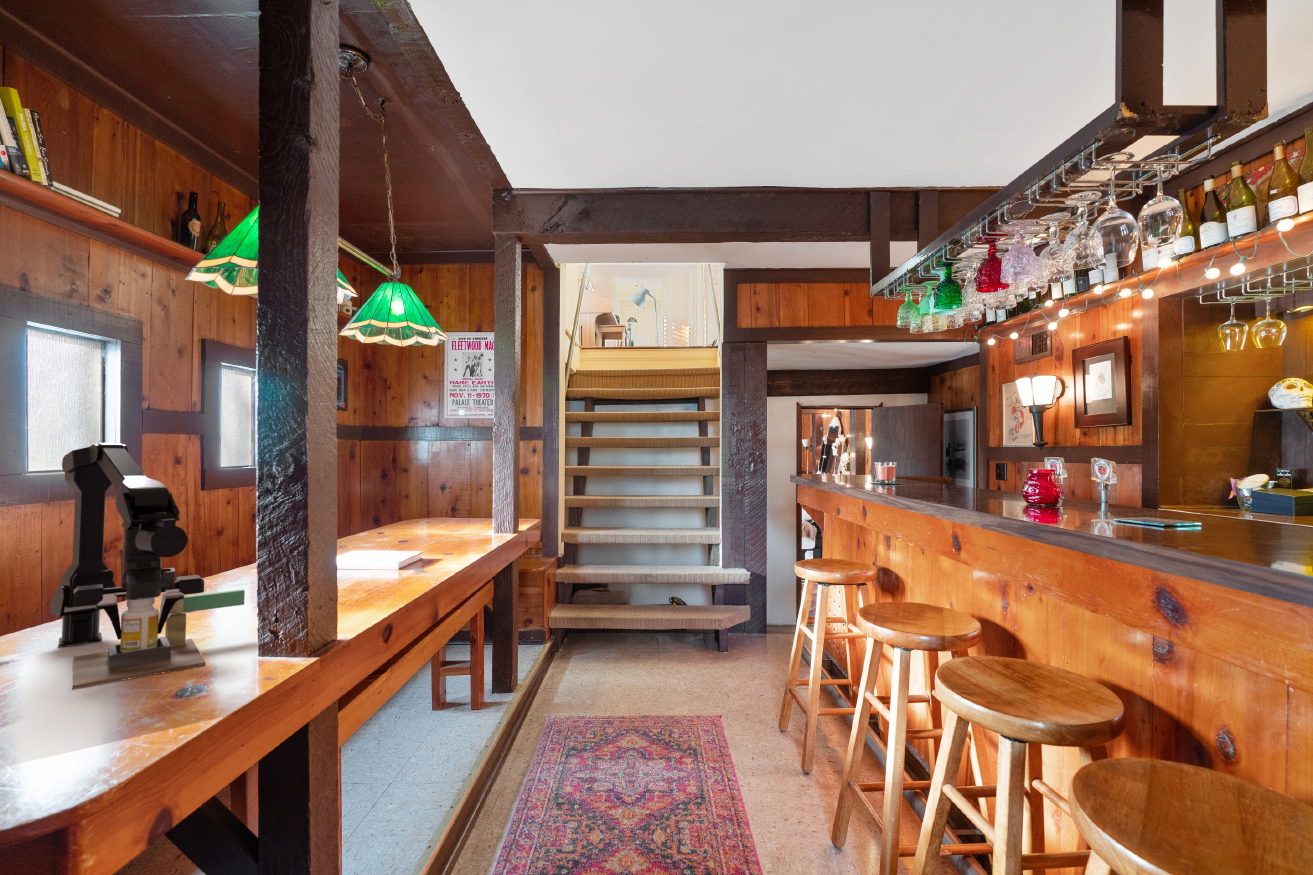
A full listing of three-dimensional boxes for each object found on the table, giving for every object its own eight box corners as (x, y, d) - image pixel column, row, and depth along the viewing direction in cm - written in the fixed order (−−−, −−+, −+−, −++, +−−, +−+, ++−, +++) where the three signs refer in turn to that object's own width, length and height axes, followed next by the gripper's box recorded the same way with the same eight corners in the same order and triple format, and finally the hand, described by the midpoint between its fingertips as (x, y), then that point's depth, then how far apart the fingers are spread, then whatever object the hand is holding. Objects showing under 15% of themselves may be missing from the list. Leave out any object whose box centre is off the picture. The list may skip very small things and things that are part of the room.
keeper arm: (168, 614, 124) (169, 599, 124) (167, 612, 126) (167, 597, 126) (244, 604, 132) (245, 590, 132) (242, 602, 134) (242, 588, 134)
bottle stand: (73, 659, 117) (74, 624, 117) (191, 641, 129) (192, 609, 130) (72, 689, 103) (73, 648, 103) (205, 665, 115) (206, 629, 115)
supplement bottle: (152, 643, 120) (154, 593, 120) (161, 648, 117) (163, 596, 117) (116, 650, 116) (118, 597, 116) (124, 656, 112) (127, 602, 113)
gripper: (74, 563, 104) (70, 656, 104) (209, 553, 117) (206, 636, 117) (75, 555, 113) (71, 641, 112) (201, 546, 125) (198, 624, 125)
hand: (139, 635), depth 116 cm, fingers closed on supplement bottle, 5 cm apart
